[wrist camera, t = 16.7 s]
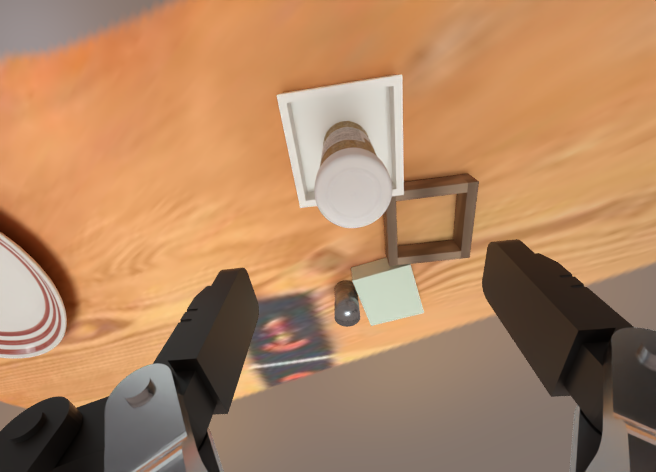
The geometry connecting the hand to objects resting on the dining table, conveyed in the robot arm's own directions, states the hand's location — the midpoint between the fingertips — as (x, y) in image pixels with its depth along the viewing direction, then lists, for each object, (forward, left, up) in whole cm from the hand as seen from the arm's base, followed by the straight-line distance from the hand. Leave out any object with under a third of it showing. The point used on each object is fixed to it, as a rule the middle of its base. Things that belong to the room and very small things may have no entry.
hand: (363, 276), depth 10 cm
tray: (0, 0, -22) cm, 22 cm away
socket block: (-8, +9, -22) cm, 25 cm away
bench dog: (+2, +19, -22) cm, 29 cm away
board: (-3, +19, -22) cm, 29 cm away
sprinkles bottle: (0, 0, -21) cm, 21 cm away
